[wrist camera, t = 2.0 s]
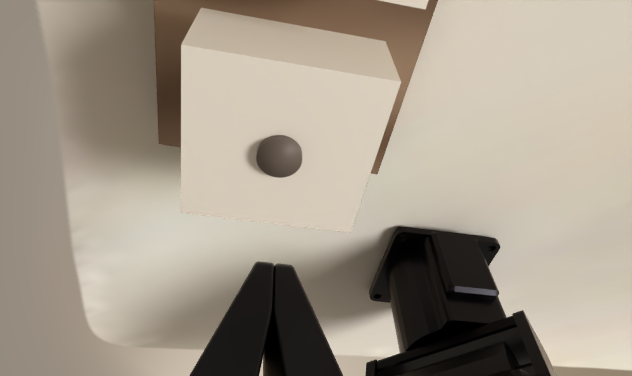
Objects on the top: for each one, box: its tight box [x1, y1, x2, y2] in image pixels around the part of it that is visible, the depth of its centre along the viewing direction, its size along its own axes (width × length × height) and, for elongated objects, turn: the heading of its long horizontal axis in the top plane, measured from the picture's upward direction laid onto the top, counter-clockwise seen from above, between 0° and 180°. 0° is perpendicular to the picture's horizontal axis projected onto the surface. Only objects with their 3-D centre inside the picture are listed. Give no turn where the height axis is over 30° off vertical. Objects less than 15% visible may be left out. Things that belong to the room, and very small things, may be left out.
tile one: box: [181, 8, 401, 233], centre depth 15 cm, size 6×6×3 cm
